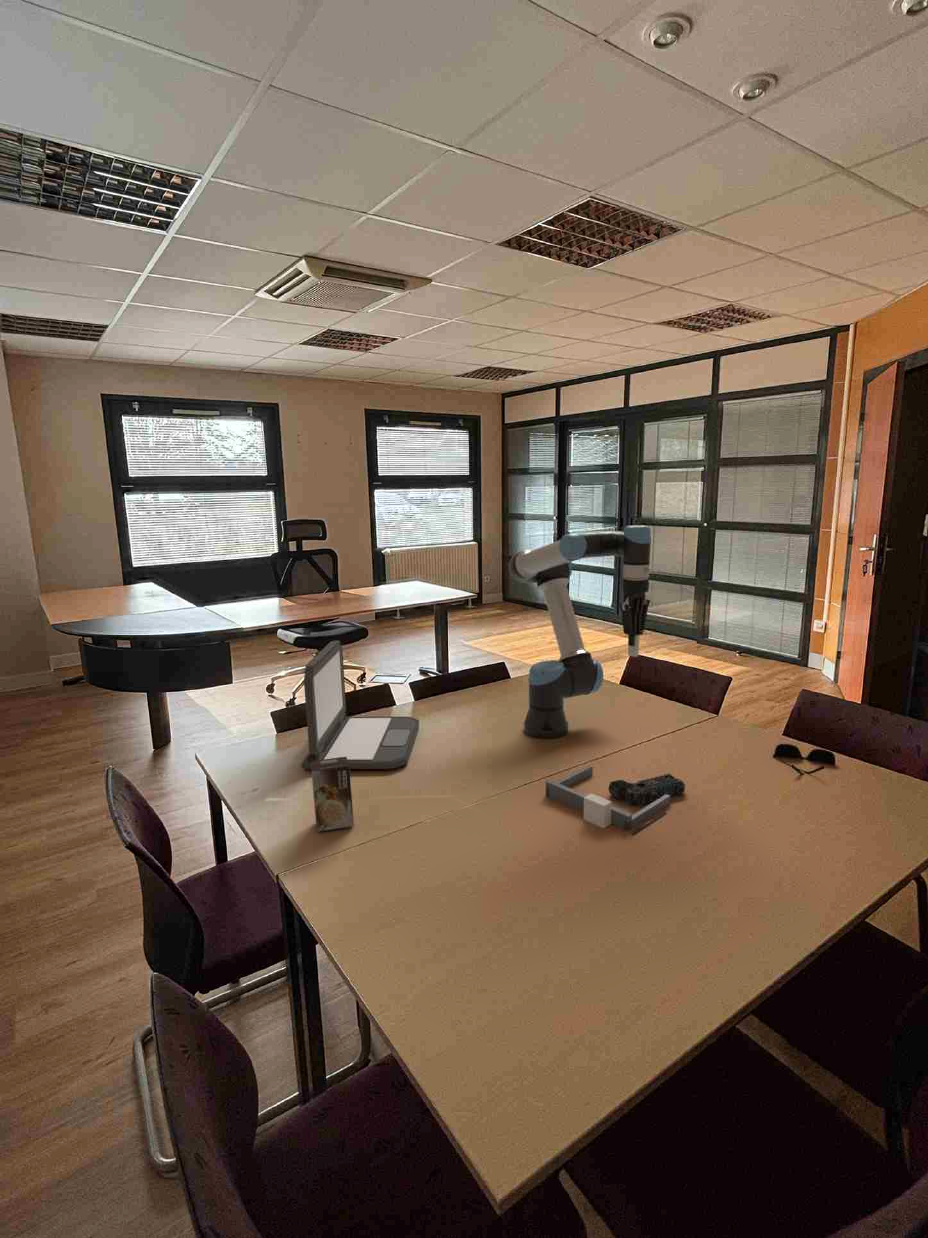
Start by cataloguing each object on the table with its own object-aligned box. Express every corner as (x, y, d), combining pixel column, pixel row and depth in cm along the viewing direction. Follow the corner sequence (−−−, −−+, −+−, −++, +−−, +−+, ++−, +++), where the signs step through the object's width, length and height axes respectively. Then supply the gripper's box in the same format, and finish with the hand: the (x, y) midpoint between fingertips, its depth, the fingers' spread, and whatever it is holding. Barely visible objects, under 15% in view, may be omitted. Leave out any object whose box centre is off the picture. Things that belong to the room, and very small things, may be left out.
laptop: (404, 772, 185) (400, 668, 178) (301, 771, 186) (293, 669, 180) (420, 724, 222) (417, 637, 216) (334, 724, 224) (328, 638, 218)
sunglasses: (770, 775, 178) (772, 759, 177) (772, 756, 190) (773, 740, 189) (839, 787, 170) (841, 770, 169) (836, 766, 183) (838, 750, 182)
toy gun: (606, 779, 167) (631, 795, 159) (662, 766, 175) (688, 780, 166) (606, 794, 168) (630, 811, 159) (661, 780, 176) (688, 795, 167)
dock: (538, 799, 167) (538, 778, 165) (589, 773, 181) (589, 753, 180) (628, 840, 146) (629, 816, 145) (677, 807, 161) (678, 785, 160)
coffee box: (351, 814, 161) (348, 755, 158) (354, 826, 155) (350, 766, 152) (315, 819, 159) (310, 760, 155) (316, 832, 153) (311, 771, 149)
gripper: (634, 582, 179) (631, 662, 183) (659, 577, 187) (655, 653, 192) (612, 579, 184) (610, 657, 189) (637, 575, 193) (634, 649, 197)
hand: (633, 655), depth 190 cm, fingers closed
